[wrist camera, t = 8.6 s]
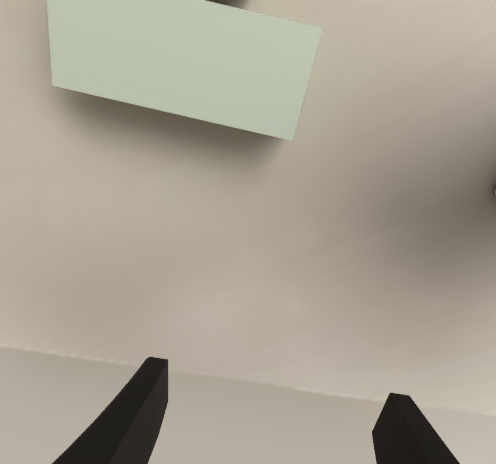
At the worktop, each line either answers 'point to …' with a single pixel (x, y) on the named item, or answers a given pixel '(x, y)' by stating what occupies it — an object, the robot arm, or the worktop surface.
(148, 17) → the pale green rectangular block
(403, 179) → the worktop surface
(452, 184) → the worktop surface
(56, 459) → the robot arm
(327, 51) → the worktop surface
